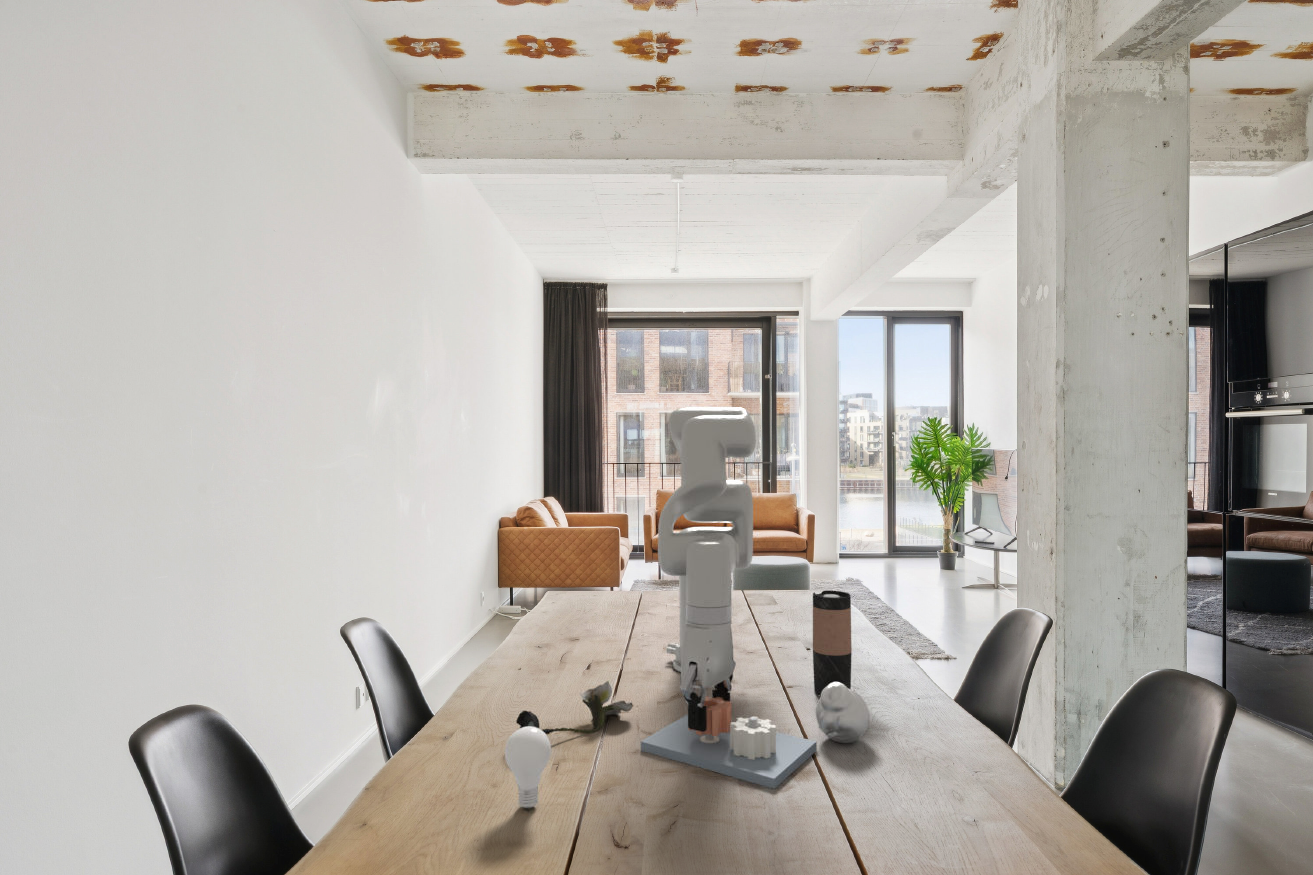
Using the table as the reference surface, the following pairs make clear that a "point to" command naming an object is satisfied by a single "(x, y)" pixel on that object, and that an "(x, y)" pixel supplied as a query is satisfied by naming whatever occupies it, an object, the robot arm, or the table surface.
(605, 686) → the artificial flower
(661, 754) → the gear board
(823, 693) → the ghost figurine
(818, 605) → the travel mug
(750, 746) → the cream gear
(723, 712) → the terracotta gear
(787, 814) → the table surface
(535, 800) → the lightbulb
